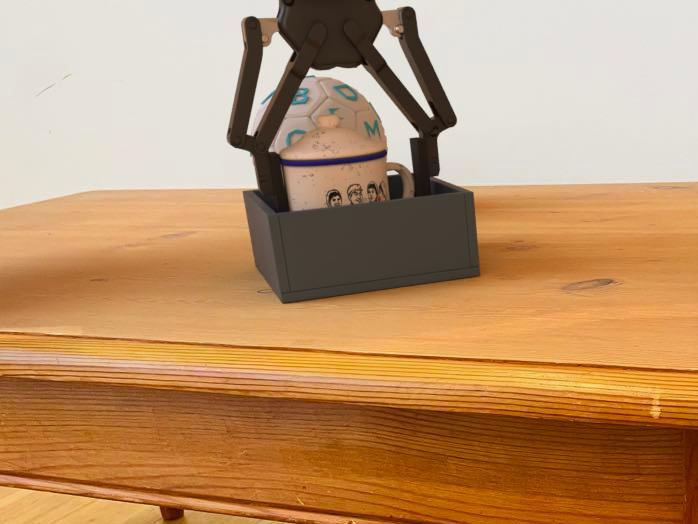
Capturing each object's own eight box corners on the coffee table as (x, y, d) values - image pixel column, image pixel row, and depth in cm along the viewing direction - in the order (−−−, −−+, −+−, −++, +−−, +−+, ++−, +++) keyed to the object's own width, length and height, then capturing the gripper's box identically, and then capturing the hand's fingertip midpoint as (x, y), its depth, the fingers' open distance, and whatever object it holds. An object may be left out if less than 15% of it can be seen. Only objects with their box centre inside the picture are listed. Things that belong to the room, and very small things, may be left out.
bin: (282, 303, 85) (267, 215, 82) (255, 267, 99) (242, 190, 96) (480, 275, 90) (473, 191, 87) (428, 244, 104) (420, 171, 101)
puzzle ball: (407, 204, 129) (392, 68, 122) (378, 227, 115) (359, 75, 109) (285, 210, 130) (264, 76, 124) (242, 233, 117) (216, 84, 110)
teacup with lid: (324, 274, 88) (302, 122, 83) (275, 260, 94) (252, 119, 89) (446, 250, 94) (433, 107, 89) (393, 238, 101) (377, 105, 96)
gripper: (161, -59, 77) (219, 249, 86) (480, -72, 84) (501, 214, 93) (156, -51, 83) (211, 235, 93) (452, -64, 90) (475, 204, 100)
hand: (356, 225), depth 93 cm, fingers closed on teacup with lid, 12 cm apart
